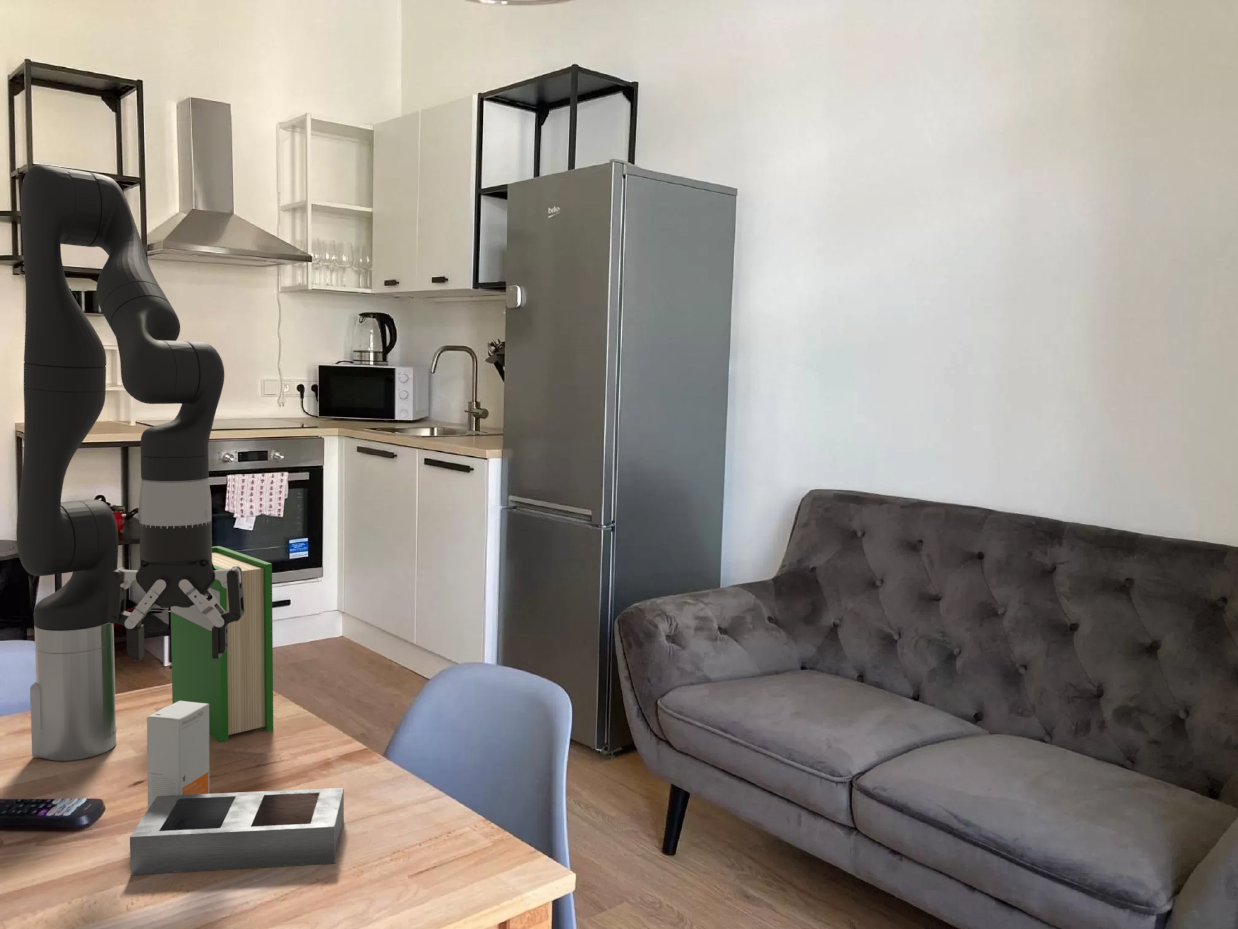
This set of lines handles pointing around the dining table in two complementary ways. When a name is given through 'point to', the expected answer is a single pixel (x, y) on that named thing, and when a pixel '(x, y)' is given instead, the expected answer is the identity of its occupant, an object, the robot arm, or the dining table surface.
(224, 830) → the holder
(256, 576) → the hardback book
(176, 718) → the skincare box
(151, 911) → the dining table surface
